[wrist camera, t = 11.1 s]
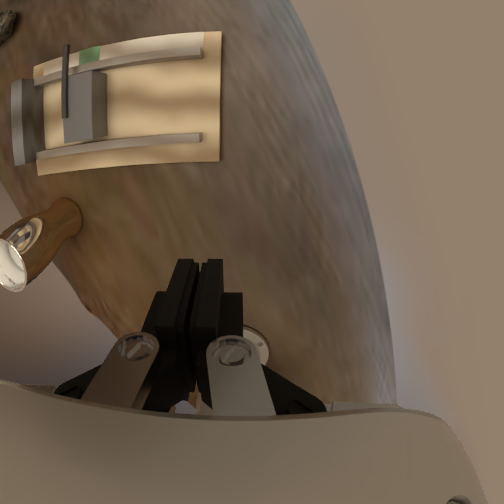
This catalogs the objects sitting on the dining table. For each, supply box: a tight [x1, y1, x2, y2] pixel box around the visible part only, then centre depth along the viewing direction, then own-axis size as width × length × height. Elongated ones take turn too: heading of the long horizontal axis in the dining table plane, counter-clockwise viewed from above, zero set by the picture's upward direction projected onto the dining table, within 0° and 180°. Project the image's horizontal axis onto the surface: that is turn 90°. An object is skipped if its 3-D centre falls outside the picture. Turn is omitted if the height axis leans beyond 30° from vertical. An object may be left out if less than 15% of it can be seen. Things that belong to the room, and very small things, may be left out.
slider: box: [61, 44, 107, 144], centre depth 27 cm, size 12×4×5 cm, turn 179°
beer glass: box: [0, 198, 82, 292], centre depth 31 cm, size 7×7×15 cm
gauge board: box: [11, 31, 222, 176], centre depth 28 cm, size 16×26×6 cm, turn 89°
